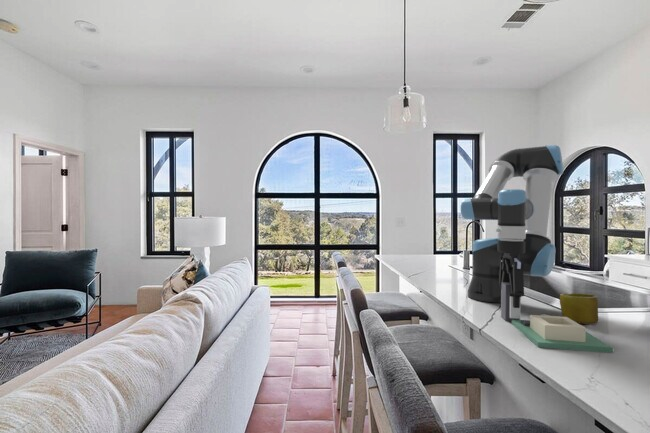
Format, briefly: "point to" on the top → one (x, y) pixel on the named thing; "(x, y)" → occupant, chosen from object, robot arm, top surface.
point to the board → (564, 344)
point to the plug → (506, 302)
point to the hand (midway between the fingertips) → (510, 314)
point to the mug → (579, 307)
